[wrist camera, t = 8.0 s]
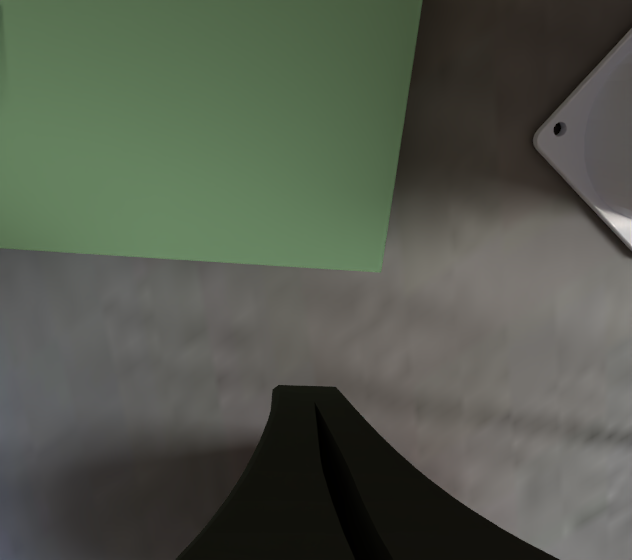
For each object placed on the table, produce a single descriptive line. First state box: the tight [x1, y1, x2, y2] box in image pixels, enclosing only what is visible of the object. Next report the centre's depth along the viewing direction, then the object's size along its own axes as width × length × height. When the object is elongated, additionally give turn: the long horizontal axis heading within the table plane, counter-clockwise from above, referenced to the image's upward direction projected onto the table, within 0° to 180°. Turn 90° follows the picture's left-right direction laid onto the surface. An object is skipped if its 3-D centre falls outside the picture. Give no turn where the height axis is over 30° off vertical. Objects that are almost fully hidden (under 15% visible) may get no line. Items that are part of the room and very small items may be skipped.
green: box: [0, 0, 423, 272], centre depth 17 cm, size 24×12×2 cm, turn 84°
